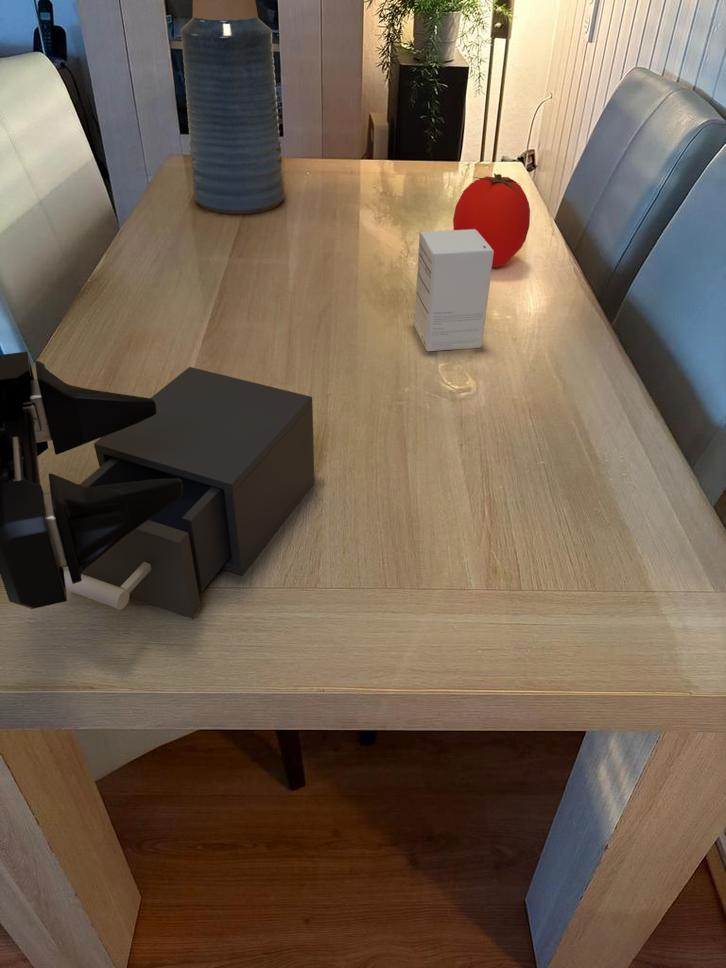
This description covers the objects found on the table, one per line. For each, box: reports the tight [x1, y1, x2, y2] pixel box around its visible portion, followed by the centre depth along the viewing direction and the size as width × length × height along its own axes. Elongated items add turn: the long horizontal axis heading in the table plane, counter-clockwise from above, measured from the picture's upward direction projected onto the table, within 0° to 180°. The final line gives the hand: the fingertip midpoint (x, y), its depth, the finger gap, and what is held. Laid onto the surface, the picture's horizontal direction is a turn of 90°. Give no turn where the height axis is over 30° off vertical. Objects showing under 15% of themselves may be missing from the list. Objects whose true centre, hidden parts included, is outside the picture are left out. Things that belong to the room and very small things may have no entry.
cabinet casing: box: [93, 366, 315, 577], centre depth 65 cm, size 14×13×10 cm
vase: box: [180, 0, 286, 215], centre depth 126 cm, size 16×16×32 cm
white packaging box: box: [413, 229, 494, 352], centre depth 91 cm, size 7×7×13 cm
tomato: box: [452, 172, 531, 268], centre depth 111 cm, size 12×12×13 cm
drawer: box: [63, 457, 232, 620], centre depth 58 cm, size 17×11×8 cm
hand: (168, 443), depth 47 cm, fingers open, 9 cm apart
